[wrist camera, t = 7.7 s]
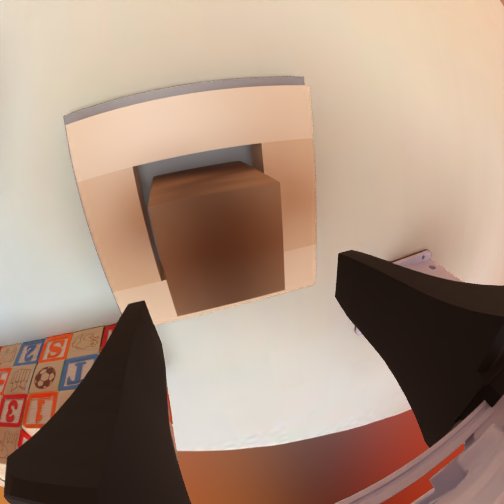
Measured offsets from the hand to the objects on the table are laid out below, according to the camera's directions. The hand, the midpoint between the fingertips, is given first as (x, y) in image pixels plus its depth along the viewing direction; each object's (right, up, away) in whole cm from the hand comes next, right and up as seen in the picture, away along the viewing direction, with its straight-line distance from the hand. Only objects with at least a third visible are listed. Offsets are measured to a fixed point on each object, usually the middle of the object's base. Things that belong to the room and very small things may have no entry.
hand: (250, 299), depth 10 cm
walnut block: (-3, +4, +6) cm, 8 cm away
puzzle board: (-3, +5, +7) cm, 9 cm away
